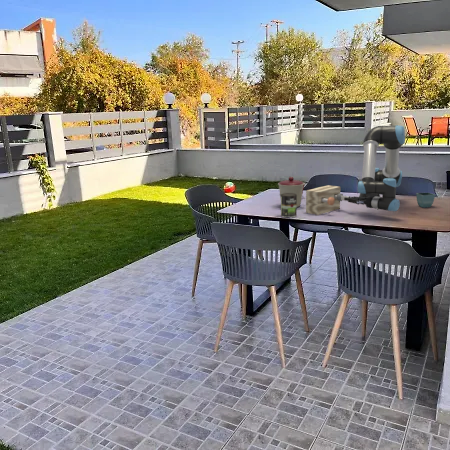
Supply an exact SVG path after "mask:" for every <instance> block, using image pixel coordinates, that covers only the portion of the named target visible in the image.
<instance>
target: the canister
mask: <svg viewBox="0 0 450 450" xmlns="http://www.w3.org/2000/svg"><path fill="white" fill-rule="evenodd" d="M304 183H305V182H304V181H301V180H298V179H294V176H289V177H288V179H287V180H286V179H285V180H282V181H280V182H278V183H277V185H278V189H279V190H278V191H279V197H280V200H281V194H284V193H294V194H297V208H299V207H300V206H301V203H302V199H303V198H302V197H303V194H302V192H303V193H304V189H303V185H304ZM304 186H305V185H304Z"/></svg>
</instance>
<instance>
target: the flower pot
mask: <svg viewBox="0 0 450 450" xmlns="http://www.w3.org/2000/svg"><path fill="white" fill-rule="evenodd" d="M415 195H416V202H417V205H418V207H421V208H422V209H423V208H431V207H432V205H434V201H435V197H436V194H434V193H431V192H416V193H415Z"/></svg>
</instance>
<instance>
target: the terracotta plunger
mask: <svg viewBox="0 0 450 450" xmlns="http://www.w3.org/2000/svg"><path fill="white" fill-rule="evenodd" d="M321 202H327V203H328V205H333V204H334V202H335V199H334V198H333V197H329V198H328V199H325V198H321Z"/></svg>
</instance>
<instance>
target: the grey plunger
mask: <svg viewBox="0 0 450 450" xmlns="http://www.w3.org/2000/svg"><path fill="white" fill-rule="evenodd" d="M341 196H344V194H343V193H341V192H340V193H339V194H338V195H334V198H335V199H337V201H340V202H343V200H341Z"/></svg>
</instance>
